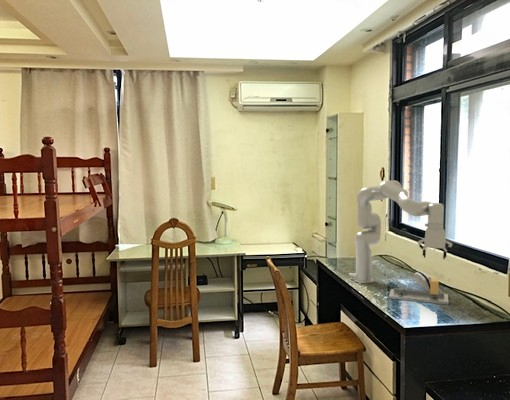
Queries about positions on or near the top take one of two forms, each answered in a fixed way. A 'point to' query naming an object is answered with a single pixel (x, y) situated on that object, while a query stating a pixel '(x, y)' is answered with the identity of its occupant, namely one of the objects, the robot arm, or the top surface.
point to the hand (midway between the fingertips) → (434, 257)
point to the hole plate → (419, 298)
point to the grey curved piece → (423, 280)
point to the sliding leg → (434, 286)
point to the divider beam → (415, 292)
